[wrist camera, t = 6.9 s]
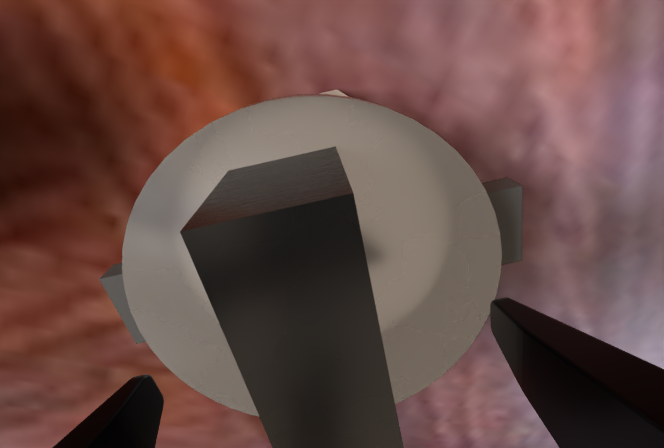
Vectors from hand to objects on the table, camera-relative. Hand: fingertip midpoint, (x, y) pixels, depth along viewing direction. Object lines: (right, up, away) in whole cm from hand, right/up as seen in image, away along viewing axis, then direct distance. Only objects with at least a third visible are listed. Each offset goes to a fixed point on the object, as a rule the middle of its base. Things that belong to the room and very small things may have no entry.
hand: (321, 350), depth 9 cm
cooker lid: (0, +1, +3) cm, 4 cm away
